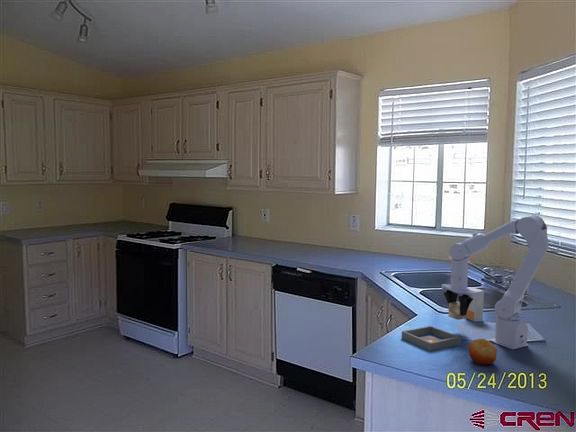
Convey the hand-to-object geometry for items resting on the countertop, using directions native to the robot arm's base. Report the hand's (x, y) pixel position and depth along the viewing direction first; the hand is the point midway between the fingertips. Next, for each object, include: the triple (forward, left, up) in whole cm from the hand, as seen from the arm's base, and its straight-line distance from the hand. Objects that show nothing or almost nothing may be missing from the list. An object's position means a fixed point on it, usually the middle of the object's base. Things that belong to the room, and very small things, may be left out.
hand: (457, 313), depth 174 cm
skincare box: (+8, -18, -7) cm, 21 cm away
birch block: (0, 0, -2) cm, 2 cm away
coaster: (-3, +16, -7) cm, 18 cm away
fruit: (-24, +16, -7) cm, 30 cm away
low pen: (-3, +16, -7) cm, 18 cm away
